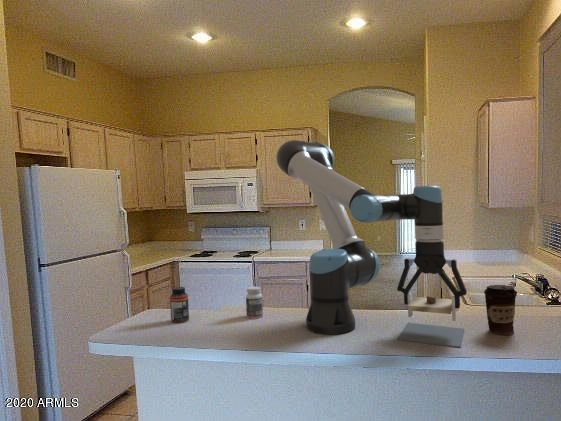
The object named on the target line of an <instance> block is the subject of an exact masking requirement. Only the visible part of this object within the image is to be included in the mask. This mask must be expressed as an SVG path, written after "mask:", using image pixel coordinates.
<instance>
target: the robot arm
mask: <svg viewBox="0 0 561 421" xmlns="http://www.w3.org/2000/svg"><path fill="white" fill-rule="evenodd" d="M334 163H335V156H334V152H333V150H332V149H331V148H330V147H329V146H328V145H326V144H324V143H321V142H319V141H318V142H317V141H314V142H311V141H304V140H297V139H296V140H295V139H291V140H289V141H286V142H283V143H282V144H281V145H280V146H279V148H278V150H277V152H276V164H277V166H278V167H279V169H280V170H281V171H282V172H283V173H285V175H287V176H289V177H290V178H292V179H299V180H301V181H302V182H303V184H304V185H307V186H308V187H309V188H310V191H311V193H312V196H313V199H314V201H315V203H316V207H317V208H318V210H319V215H320V216H321V219H322V221H323V223H324V224H323V225H324V226H325V229H326V231H327V234H328V235H329V239H330V242H331V243H332V246H333V247H332V248H328V249H321V250H318V251H315V252H314V253H312V254H311V256H310V257H309V267H308V270H309V287H310V304H309V307H308V311H307V314H306V318H305V328H306V329H307V330H309V331H311V332H313V333H317V334H323V335H339V334H346V333H349V332H351V331H354V330H355V329H356V319H355V316H354V313H353V309H352V306H351V304H350V302H349V301H350V299H349V297H350V296H349V294H350V292H349V289H352V288H355V287H359V286H365V285H367V284H369V283H371V282H373V281H374V280H375V279H376V278H377V276H378V274H379V272H380V265H381V263H380V260H379V256H378V255H377V253H376V252H375V251H374V250H372V249H371V248H368V247H367V245H366V243H365V241H364V239H362V238H359V237H358V235H357V233H356V231H355V228H354V227H353V224H352V222H351V219H350V217H349V214H348V212H347V210H346V209H348V210H349V211H350V213H351V214H350V215H352V217H353V219H354V220H355V221H357V222H360V223H367V224H368V223H375V222H385V221H387V222H388V221H396V220H398V221H399V220H400V221H401V220H403V221H404V220H414V235H415V236H414V238H415V239H416V241H415V244H414V245H415V257H414V258H411V257H406V258H405V259H404V261H403V262H404V263H403V265H404V266H403V270H402V273H401V276H400V279H399V282H398V283H397V288H396V290H397V291H398V292H401V293H402V294H403V304H404V305H405V306H406V305H407V306H408V304H409V303H410V302H411V301H412V300H413V293H412V292H410V291H411V289H412V288H413V286H414V285H415V284H416V282H417V281H418V279H419V277H420V276H421V274H422V273H423V274H427V275H428V274H432V275H436V274H438V275H439V277H440V278H441V279H442V280H443V282H444V284H445V285H446V286H447V287H448V289H449V291H450V292H451V293H452V295H451V299H452V312H451V315H452V316H451V318H452V322H456V320H457V309H458V310H459V309H460V308H461V297H463V296H466V295H467V293H468V291H467V288H466V286H465V283H464V281H463V279H462V276H461V273H460V271H459V270H458V265H457V264H458V263H457V262H458V261H457V259H456V258H453V259H446V258H445V245H444V244H445V243H444V241H443V239H444V221H443V220H444V219H443V216H444V215H443V203H444V201H443V194H442V188H441V187H440V186H439V185H422V186H421V185H420V186H415V187H414V188H413V192H412V193H408V194H407V193H404V194H403V193H400V194H399V193H398V194H375V193H373V192H371V191H370V190H368V189H366V188H365V187H363V186H361V185H359V184H357V183H356V182H354V181H352V180H351V179H348V178H347V177H346V176H343V175H341V174H340V173H338V172H336V171H334V166H335V164H334ZM413 264H415V265H416V266H417V270H416V271H415V273H414V274H413V277H412V278H411V279H410V281H409V282H408V284H407V286H405V282H406V279H407V277H408V275H409V272H410V269H411V266H413ZM446 264H447V265H448V267H449V268H451V271H452V274H453V277H454V279H455V281H456V284H457V285H458V288H457V286H456V285H455V284H454V283H453V281H452V280H451V278H450V277H449V276H448V275H447V273H446V271H445V269H444V266H446ZM458 289H459V290H458ZM413 312H414V311H408V310H407V315H408V316H407V317H408V318H411V317H412V316H413Z"/></svg>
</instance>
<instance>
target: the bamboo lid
mask: <svg viewBox="0 0 561 421" xmlns="http://www.w3.org/2000/svg"><path fill="white" fill-rule="evenodd" d="M408 311H413V312H419V313H420V312H421V313H433V314H444V315H452V298H450V299H449V298H437V297H436V296H435V295H427V296H426V297H421V296H419V297H418V296H414V297H412V301H411V302H410V303H409V304H408V305H407V312H408Z"/></svg>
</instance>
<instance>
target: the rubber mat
mask: <svg viewBox="0 0 561 421" xmlns="http://www.w3.org/2000/svg"><path fill="white" fill-rule="evenodd" d="M464 329H465V328H464V327H463V328H462V327H456V326H455V327H453V326H445V325H436V324H435V325H434V324H424V323H416V322H407V323H406V325H405V326H404V327H403V329H402V330H401V332H400V333H399V335H398V336H397V338H396V340H397V341H405V342H414V343H421V344H428V345H429V344H430V345H436V346H437V345H438V346H442V347H444V346H445V347H451V348H452V347H453V348H458V349H460V348H461V347H462V342H463V340H464V339H463V337H464V334H465V330H464Z"/></svg>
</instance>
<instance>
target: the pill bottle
mask: <svg viewBox="0 0 561 421" xmlns="http://www.w3.org/2000/svg"><path fill="white" fill-rule="evenodd" d="M261 288H262V287H261V286H248V287H247V288H246V292H247V294H246V295H245V304H246V306H245V307H246V308H245V310H246V317H247V318H248V319H252V318H255V319H259V318H262V317H263V316H264V302H263V301H264V300H263V299H264V298H263V294H262V293H261V292H262V290H261Z"/></svg>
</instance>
